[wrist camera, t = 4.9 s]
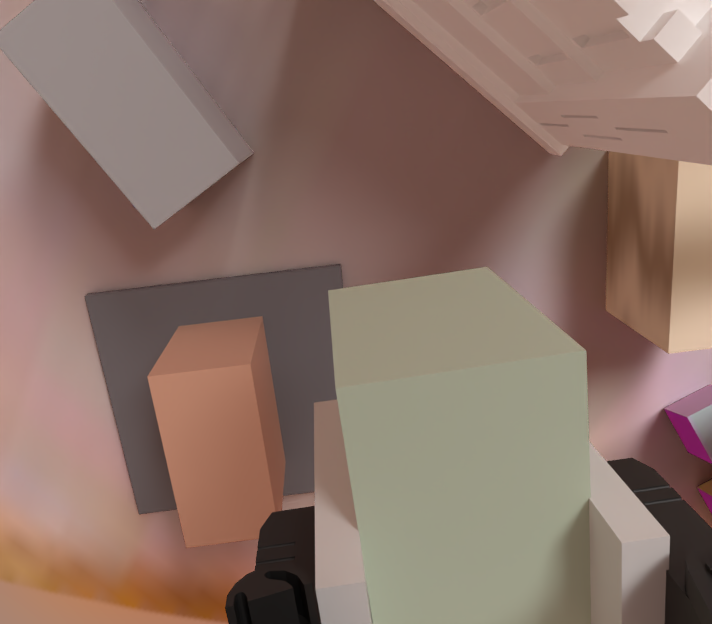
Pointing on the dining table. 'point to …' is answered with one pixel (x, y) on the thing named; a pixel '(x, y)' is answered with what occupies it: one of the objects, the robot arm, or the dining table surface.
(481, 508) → the sage brick
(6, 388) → the dining table surface
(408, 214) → the dining table surface
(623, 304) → the maple brick
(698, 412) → the toy
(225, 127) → the grey brick
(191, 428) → the terracotta brick
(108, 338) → the felt mat
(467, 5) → the castle model
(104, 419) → the dining table surface
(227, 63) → the dining table surface
